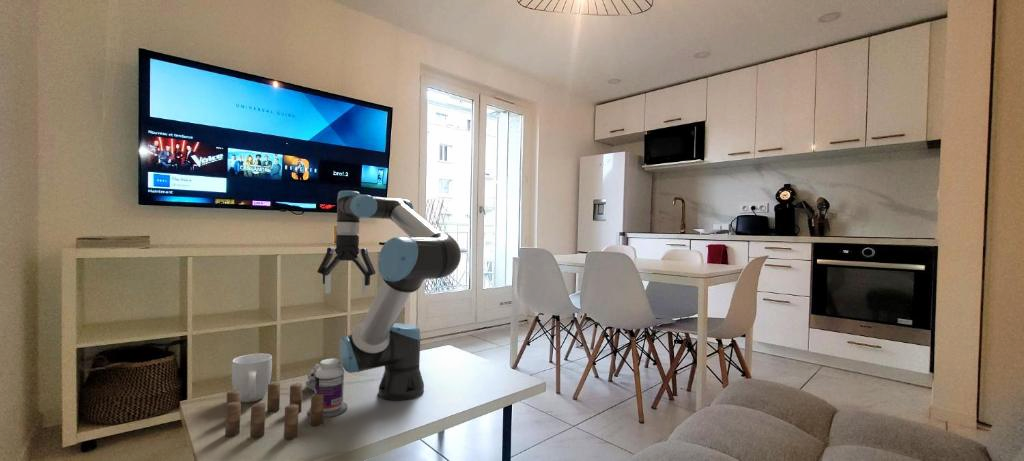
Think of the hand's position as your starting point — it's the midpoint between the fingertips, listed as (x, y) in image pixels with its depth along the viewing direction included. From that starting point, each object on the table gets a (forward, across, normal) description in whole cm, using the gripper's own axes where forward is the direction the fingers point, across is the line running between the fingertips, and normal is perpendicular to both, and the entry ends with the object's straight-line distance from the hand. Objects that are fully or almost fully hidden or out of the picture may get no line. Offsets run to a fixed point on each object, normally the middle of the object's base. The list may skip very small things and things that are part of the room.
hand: (345, 294), depth 144 cm
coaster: (+33, -5, +19) cm, 38 cm away
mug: (+33, +23, +15) cm, 43 cm away
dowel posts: (+33, +6, +29) cm, 44 cm away
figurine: (+33, +7, +2) cm, 34 cm away
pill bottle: (+32, -5, +19) cm, 38 cm away
